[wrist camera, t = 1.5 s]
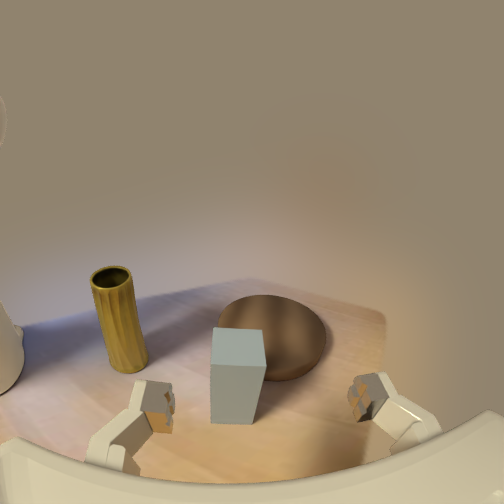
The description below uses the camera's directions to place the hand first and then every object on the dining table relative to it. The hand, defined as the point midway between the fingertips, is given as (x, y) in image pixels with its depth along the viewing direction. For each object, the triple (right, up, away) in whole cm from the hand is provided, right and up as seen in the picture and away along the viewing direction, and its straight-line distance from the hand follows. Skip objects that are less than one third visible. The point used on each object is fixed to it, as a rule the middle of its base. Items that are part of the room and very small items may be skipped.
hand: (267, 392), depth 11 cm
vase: (-19, -10, +24) cm, 32 cm away
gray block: (-3, -14, +20) cm, 24 cm away
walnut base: (+2, -8, +32) cm, 33 cm away
